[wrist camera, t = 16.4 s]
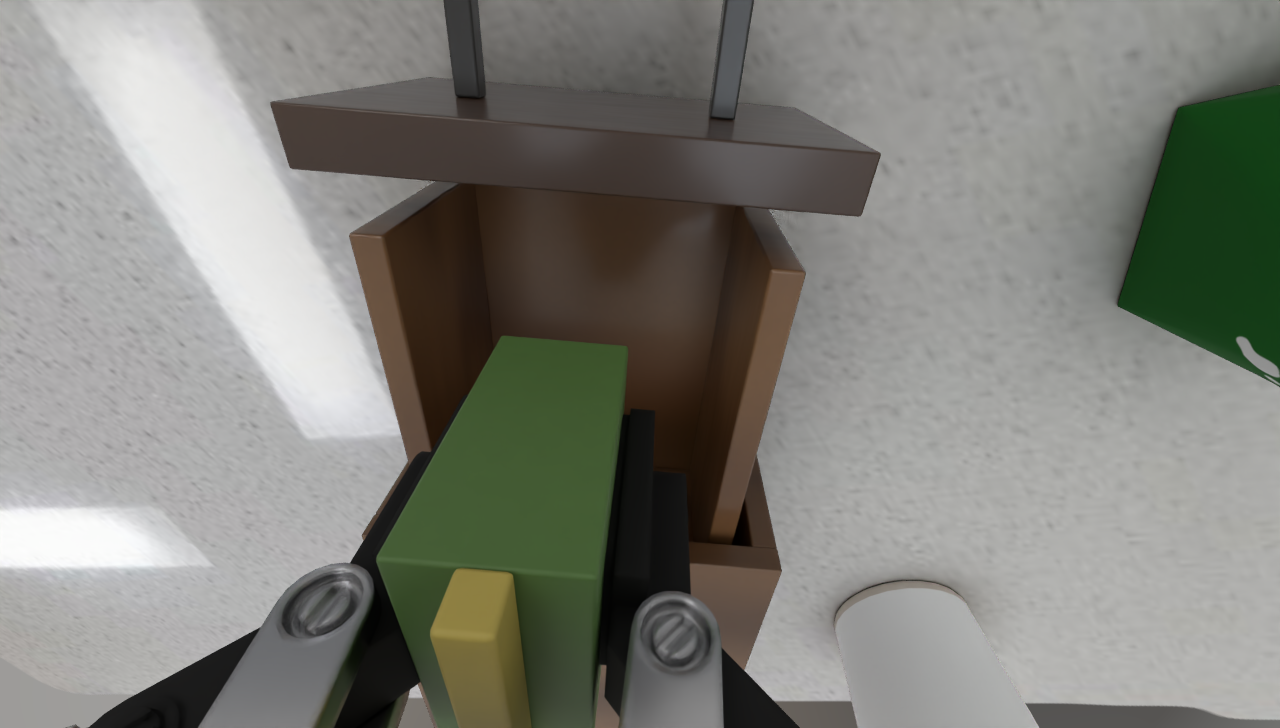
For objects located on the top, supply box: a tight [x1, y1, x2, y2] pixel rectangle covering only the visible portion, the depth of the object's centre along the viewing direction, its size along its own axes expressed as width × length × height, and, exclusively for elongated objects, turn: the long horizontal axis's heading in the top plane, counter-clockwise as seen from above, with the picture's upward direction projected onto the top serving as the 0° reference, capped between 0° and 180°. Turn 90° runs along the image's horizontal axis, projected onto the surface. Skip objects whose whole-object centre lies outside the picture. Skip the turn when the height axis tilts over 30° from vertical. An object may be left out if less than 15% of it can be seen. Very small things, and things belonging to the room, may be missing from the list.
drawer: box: [271, 0, 881, 545], centre depth 15 cm, size 22×11×7 cm, turn 176°
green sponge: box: [376, 336, 628, 728], centre depth 9 cm, size 3×6×6 cm, turn 176°
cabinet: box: [362, 454, 782, 728], centre depth 23 cm, size 17×13×9 cm
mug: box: [834, 581, 1039, 728], centre depth 27 cm, size 11×9×10 cm
